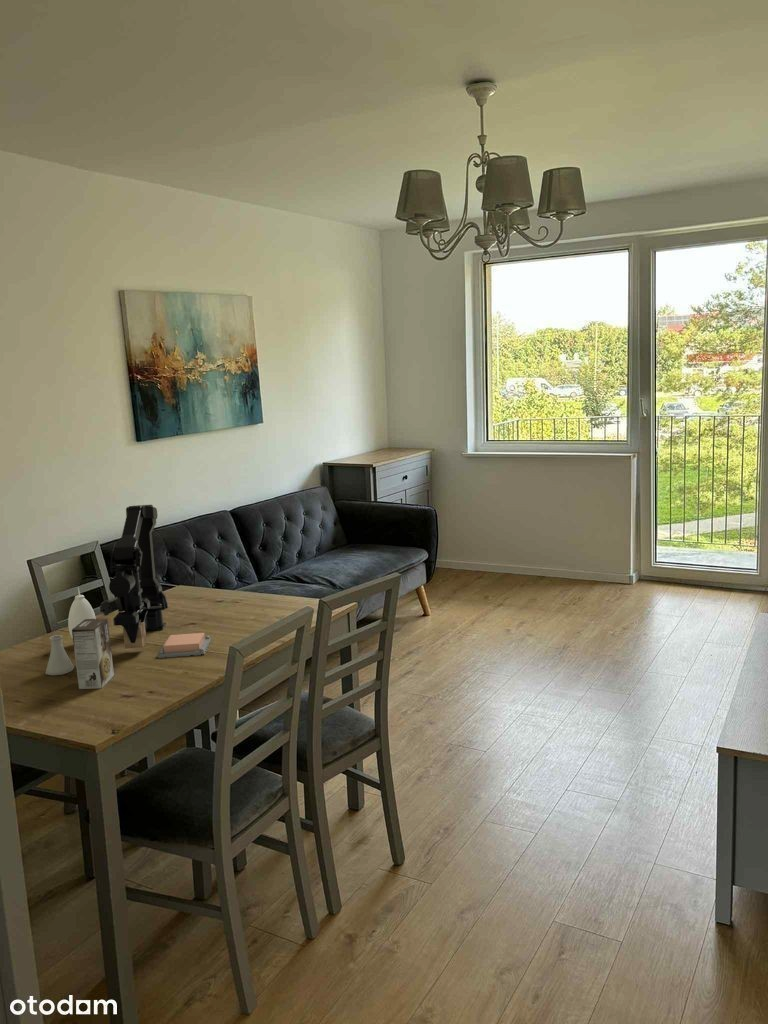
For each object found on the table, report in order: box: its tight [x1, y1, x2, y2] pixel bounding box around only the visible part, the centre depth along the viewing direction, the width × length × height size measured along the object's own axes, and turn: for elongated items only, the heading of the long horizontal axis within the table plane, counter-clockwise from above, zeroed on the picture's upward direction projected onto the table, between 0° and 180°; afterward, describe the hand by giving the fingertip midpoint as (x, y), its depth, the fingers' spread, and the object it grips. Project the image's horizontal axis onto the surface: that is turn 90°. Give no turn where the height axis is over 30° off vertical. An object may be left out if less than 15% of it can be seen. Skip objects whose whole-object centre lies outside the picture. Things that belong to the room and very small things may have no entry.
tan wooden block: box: [122, 622, 148, 649], centre depth 237 cm, size 5×5×6 cm
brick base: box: [157, 632, 212, 659], centre depth 238 cm, size 13×13×3 cm
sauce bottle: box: [67, 587, 97, 640], centre depth 246 cm, size 8×8×18 cm
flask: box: [45, 634, 75, 676], centre depth 224 cm, size 7×7×10 cm
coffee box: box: [72, 618, 115, 690], centre depth 213 cm, size 9×6×16 cm
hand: (135, 639), depth 237 cm, fingers closed on tan wooden block, 5 cm apart
